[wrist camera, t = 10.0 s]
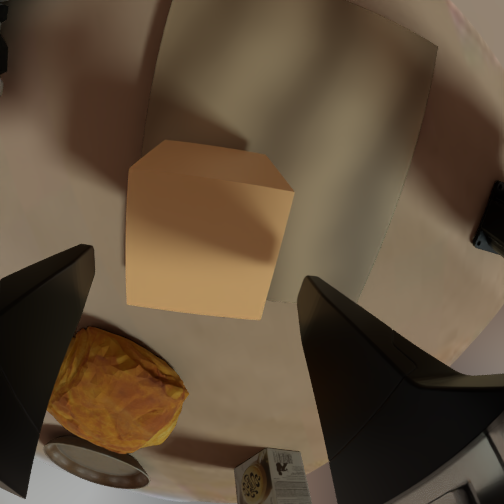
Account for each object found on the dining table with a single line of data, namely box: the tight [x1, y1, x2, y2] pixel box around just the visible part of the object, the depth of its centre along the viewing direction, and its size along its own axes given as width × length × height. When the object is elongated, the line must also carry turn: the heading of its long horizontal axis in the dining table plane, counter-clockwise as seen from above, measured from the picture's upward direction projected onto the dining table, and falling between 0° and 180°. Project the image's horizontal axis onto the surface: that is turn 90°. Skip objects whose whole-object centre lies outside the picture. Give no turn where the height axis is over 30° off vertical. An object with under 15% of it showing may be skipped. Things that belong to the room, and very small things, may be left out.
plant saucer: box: [44, 436, 150, 489], centre depth 34 cm, size 18×18×3 cm
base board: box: [141, 0, 438, 303], centre depth 17 cm, size 16×20×1 cm
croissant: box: [47, 326, 189, 454], centre depth 23 cm, size 14×16×8 cm
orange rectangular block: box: [126, 140, 295, 320], centre depth 13 cm, size 5×5×7 cm
